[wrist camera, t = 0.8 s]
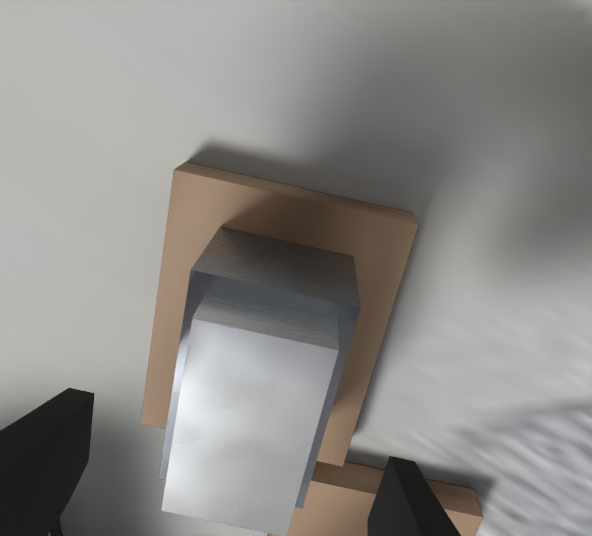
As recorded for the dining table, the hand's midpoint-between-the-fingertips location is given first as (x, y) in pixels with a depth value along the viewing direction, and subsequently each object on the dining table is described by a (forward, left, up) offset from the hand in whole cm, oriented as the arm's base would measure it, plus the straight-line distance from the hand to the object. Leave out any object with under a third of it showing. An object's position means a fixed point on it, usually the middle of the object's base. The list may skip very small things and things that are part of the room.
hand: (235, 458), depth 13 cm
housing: (0, 0, -6) cm, 6 cm away
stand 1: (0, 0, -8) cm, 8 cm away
